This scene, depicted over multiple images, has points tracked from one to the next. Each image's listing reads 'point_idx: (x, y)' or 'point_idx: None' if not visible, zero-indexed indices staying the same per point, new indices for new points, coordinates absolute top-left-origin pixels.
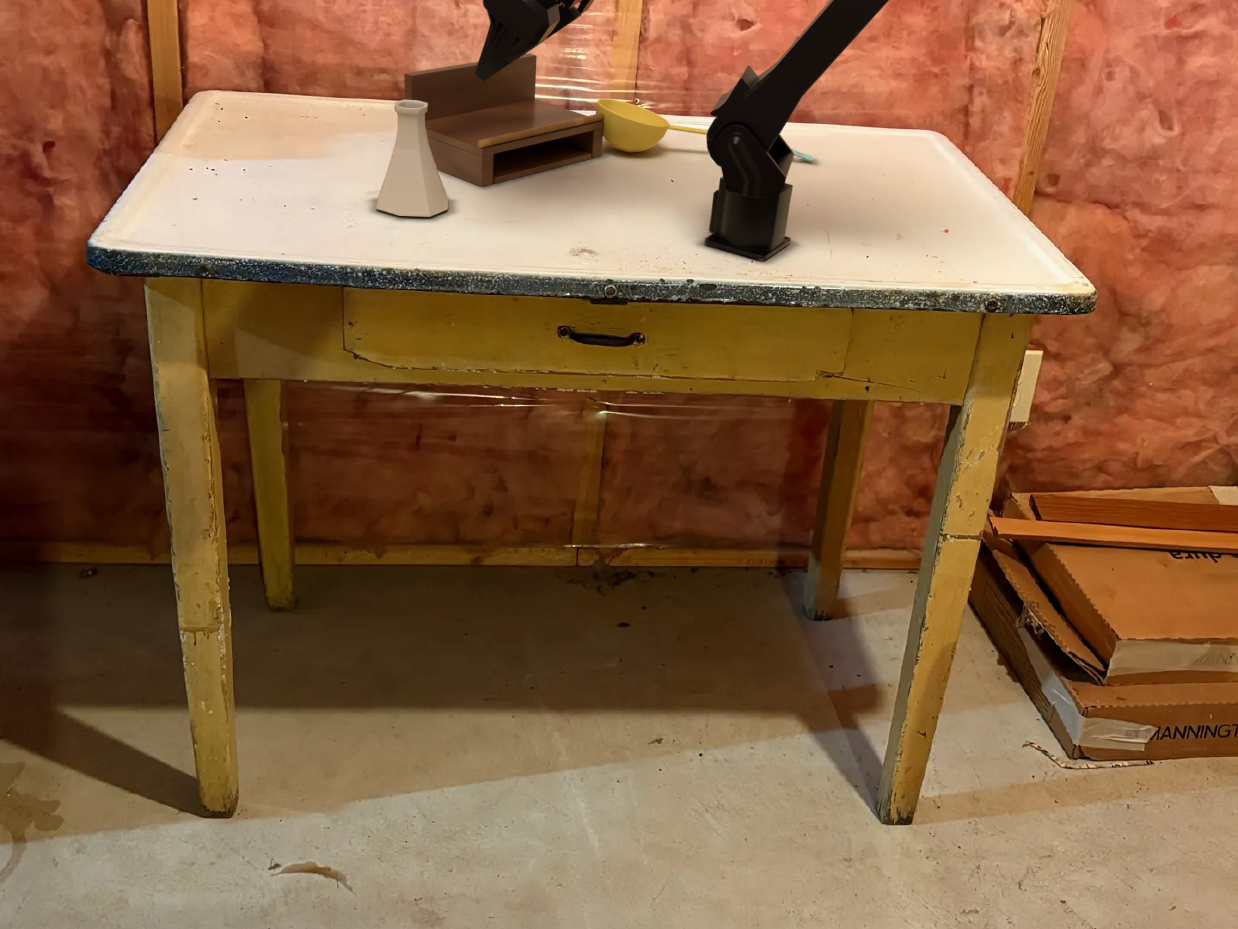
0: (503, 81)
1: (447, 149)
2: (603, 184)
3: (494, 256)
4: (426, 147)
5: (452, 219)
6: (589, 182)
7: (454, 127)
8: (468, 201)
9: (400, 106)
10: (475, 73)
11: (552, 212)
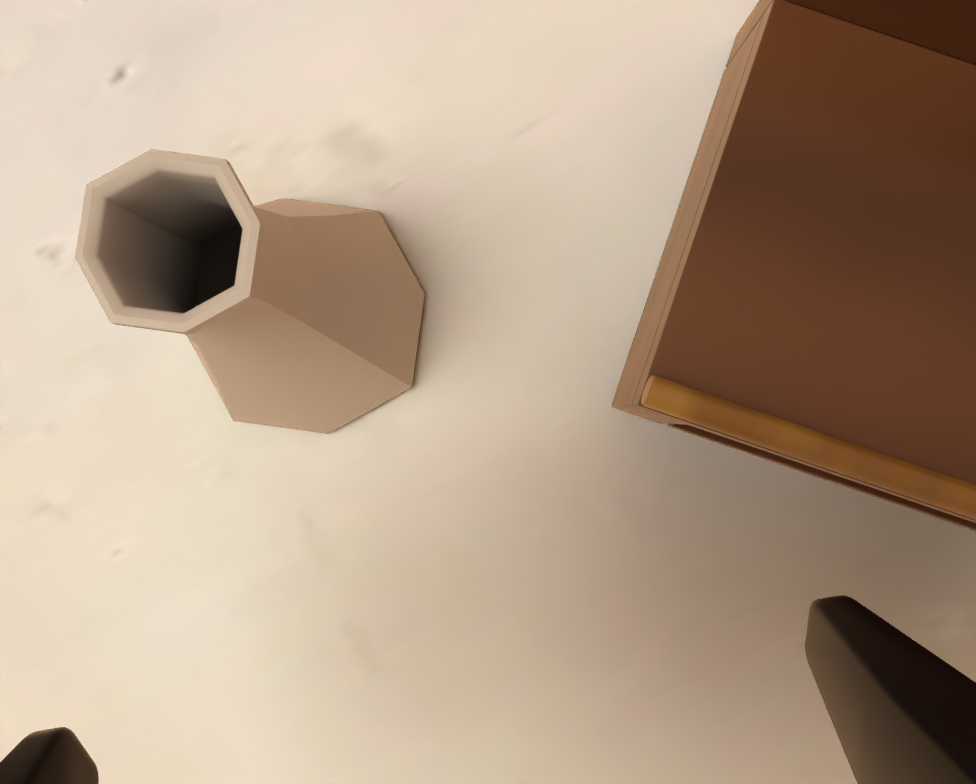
0: None
1: (689, 220)
2: None
3: None
4: (243, 351)
5: (280, 478)
6: None
7: (834, 166)
8: (458, 438)
9: (88, 221)
10: (30, 739)
11: (523, 718)
